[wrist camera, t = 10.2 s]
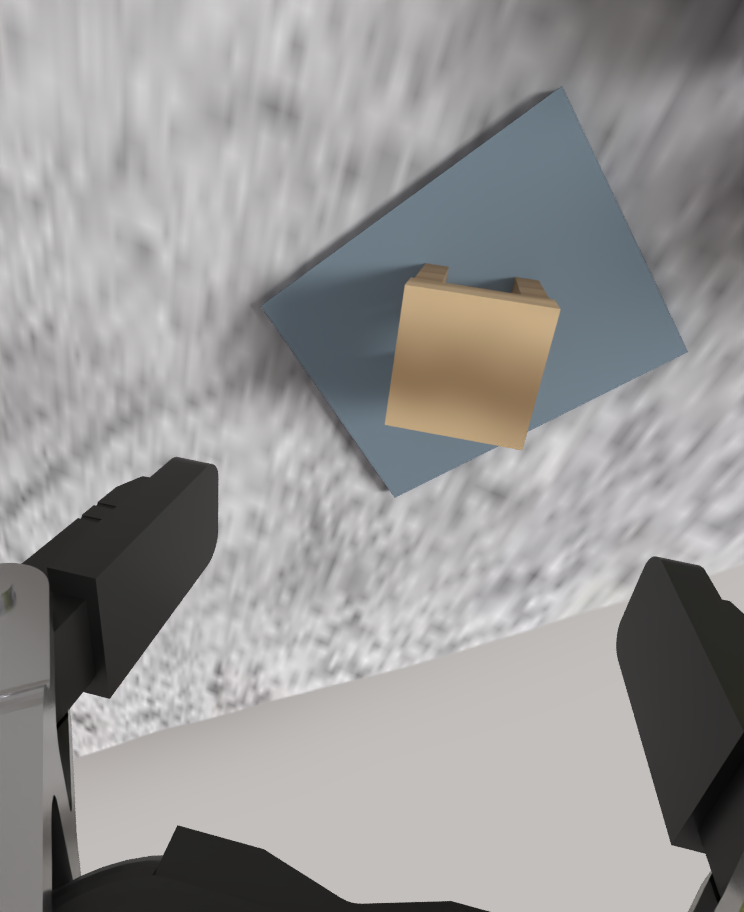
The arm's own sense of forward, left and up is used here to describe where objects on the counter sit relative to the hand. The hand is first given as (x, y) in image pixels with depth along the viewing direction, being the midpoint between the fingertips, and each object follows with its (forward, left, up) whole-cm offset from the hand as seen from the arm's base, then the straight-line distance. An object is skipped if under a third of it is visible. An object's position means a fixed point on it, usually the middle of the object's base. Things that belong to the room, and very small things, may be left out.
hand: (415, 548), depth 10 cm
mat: (0, -1, -23) cm, 23 cm away
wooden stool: (+1, -1, -22) cm, 22 cm away
